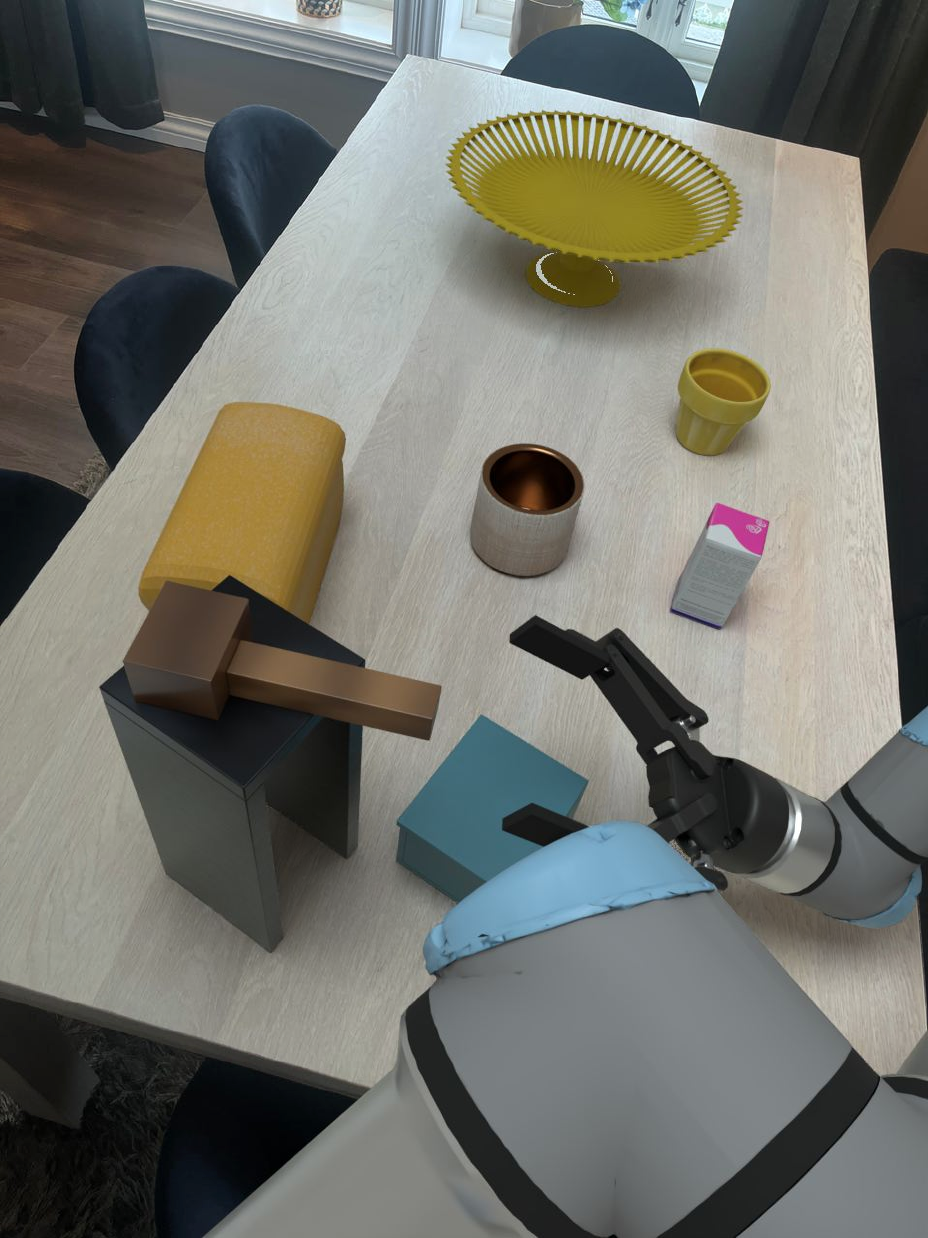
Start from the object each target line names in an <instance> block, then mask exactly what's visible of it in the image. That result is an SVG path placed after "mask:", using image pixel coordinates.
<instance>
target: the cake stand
mask: <svg viewBox="0 0 928 1238" xmlns="http://www.w3.org/2000/svg"><path fill="white" fill-rule="evenodd" d="M555 115H556V116H557V118H558V121H559V127H560V133H561V141H562V150H563V153H562V150H561V147H560V144H559V139H558V133H557V127H556V119H555V118H556V117H555ZM543 116H545V117H546V121H547V124H548V128H549V132H550V137H551V141H552V147H553V150H552V147H551V145H550V143H549V139H548V136H547V132H546V128H545V123H544V117H543ZM568 116H570V124H571V134H572V136H571V137H572V155H571V150H570V145H569V137H568V135H569V134H568V118H567V117H568ZM532 117H533V118H534V120H535V123H536V125H537V128H538V131H539V134H540V137H541V140H542V144H543V147H544V149H543V147H542V146H541V144H540V141H539V138H538V137H537V134H536V130H535V128H534V125H533V121H532ZM580 117H582V119H583V120H582V121H583V122H582V123H583V124H582V125H583V131H582V132H583V133H582V134H583V135H582V136H583V137H582V138H583V140H582V149H581V150H582V151H581V155H580V147H579V126H580ZM495 118H496V119H493V120H491V119H486V122H485V123H479V122H477V123H476V124H477V126H478V127H468V128H469V130H470V131H469V132H464V131H461V134H462V135H463V136H464V137H455V139H456V141H457V142H458V143H457V142H456V143H455V142H454V143H452V142H451V143H450V144H451V146H452V147H453V148H454V149H447V151H448V153H450V154H451V155H449V156H445V158H446V159H447V160H448V161H449V162H448V163H445V166H446V167H448V168H449V170H445V172H446V174H448V175H450V176H451V177H450V178H448V181H450V182H451V183H453V184H454V185H452V186H451V188H452V189H454V190H456V191H457V192H459V193H458V194H457V196H458V197H460V198H462V199H463V200H465V201H464V202H463V203H464V204H465V205H467V206H469V207H471V208H473V209H472V212H475V213H477V214H479V215H481V216H482V217H481V219H483V220H485V221H488V222H491V223H493V224H492V226H494V227H496V228H498V229H502V230H504V233H507V234H510V235H513V236H515V237H517V238H518V239H520V240H523V241H527V242H529V243H531V245H534V246H538V247H543V248H546V249H547V250H551V251H549V252H546V253H542V254H539V255H537V256H535V257H534V258H532V259H530V261H529V262H528V264H527V266H526V269H525V277H526V280H527V283H528V284H529V285H530V287H531V288H532V289H533V290H534V291H535V292H536V293H538V294H539V295H541V296H542V297H544V298H545V299H548V300H550V301H552V302H555V303H558V304H560V305H565V306H569V307H570V306H571V307H577V308H578V307H579V308H592V307H599V306H602V305H604V304H605V305H606V304H607V303H609V302H611V301H613V300H614V299H615V298H616V297H617V296H618V294H619V292H620V289H621V280H620V278H619V275H618V274H617V273H616V271H615V270H614V269H612V267H610V266H609V265H608V264H606V263H605V262H609V263H611V262H612V263H614V262H617V263H622V264H623V263H624V264H629V263H637V264H644V263H659V261H661V262H665V261H666V262H672V261H673V260H685V259H687V258H686V256H689V257H690V256H698V254H697V253H707V252H709V250H708V249H709V248H717V247H718V245H717V244H719V243H724V242H726V239H724V238H727V237H732V236H733V234H731V233H730V232H733V231H737V230H738V228H737V227H735V225H738V224H739V225H740V224H741V223H742V221H740V220H738V218H742V217H744V215H743V214H741V213H739V212H740V211H742V210H744V207H741V206H740V205H739V204H741V203H743V202H744V200H741V199H739V198H738V196H740V195H741V193H740V192H737V191H735V189H737V188H738V185H734V184H732V183H730V182H731V181H733V178H729V177H727V176H725V175H726V174H727V171H724V170H720V169H718V168H719V167H720V164H715V163H713V162H711V160H712V158H711V157H705V156H703V155H702V154H703V151H697V150H695V149H693V147H694V146H693V145H688V144H684V143H683V139H675V138H673V137H672V135H671V134H664V133H661V132H660V129H657V130H655V129H650V128H649V127H648V126H647V125H648V124H647V125H639V124H637V123H636V124H635V121H632V122H628V121H625V120H623V119H622V118H621V117H620V118H612V117H610V116H609V115H606V116H601V115H598V114H596V113H595V112H594V113H593V114H587V113H584V112H583V111H580V112H573V111H570V110H569V109H568V110H567V111H566V112H563V111H558V110H557V109H554V111H546V110H544V109H542V110H541V111H540V112H535V111H532V110H529V112H527V113H525V112H521V111H517V114H509V113H506V116H503V117H501V116H498V115H496V116H495ZM520 118H522V119H523V122H524V124H525V127H526V129H527V131H528V132H529V135H530V138H531V140H532V143H533V145H534V148H535V150H534V148H533V146H532V145H531V142H530V141H529V139H528V137H527V135H526V132H525V130H524V127H523V125H522V123H521V120H520ZM593 118H594V119H595V128H594V136H593V137H594V138H593V143H592V144H593V145H592V150H591V154H590V157H589V148H590V147H589V146H590V135H591V128H592V127H591V126H592V121H593V120H592V119H593ZM510 120H511V121H512V122H513V125H514V126H515V128H516V131H518V134H519V136H520V137H521V139H522V141H523V145H524V146H525V148H526V150H527V151H526V150H525V149H524V147H523V145H522V143H521V142H520V141H519V139H518V137H517V135H516V133H515V131H514V129H513V127H512V125H511V122H510ZM605 121H608V123H607V130H606V135H605V139H604V143H603V147H602V151H601V154H600V157H599V149H600V144H601V143H600V142H601V138H602V133H603V128H604V125H605ZM500 123H501V125H503V127H504V129H505V131H506V132H507V134H508V135H509V137H510V138H511V140H512V142H513V143H514V146H515V147H516V149H517V150H516V149H515V147H514V146H513V145H512V143H511V141H510V140H509V138H508V137H507V135H506V133H505V132H504V130H503V129H502V127H501V125H500ZM618 123H620V127H619V132H618V135H617V138H616V142H615V144H614V147H613V150H612V153H611V155H610V158H609V159H608V155H609V151H610V147H611V143H612V140H613V137H614V133H615V131H616V127H617V125H618ZM491 127H493V128H494V130H495V131H496V133H497V134H498V135H499V137H500V138H501V140H502V142H503V143H504V144H505V146H506V147H507V149H508V150H507V149H506V148H505V147H504V145H503V144H502V143H501V142H500V140H499V139H498V137H497V136H496V135H495V133H494V131H493V130H492V128H491ZM630 127H632V131H631V133H630V137H629V139H628V141H627V144H626V146H625V148H624V150H623V152H622V155H620V156H621V157H620V159H619V160H618V162H617V159H618V156H619V153H620V150H621V147H622V145H623V142H624V140H625V137H626V135H627V133H628V131H629V129H630ZM483 131H484V132H485V133H486V135H487V136H489V138H490V139H491V140H492V142H493V143H494V144H495V146H496V147H497V148H498V149H499V151H500V152H499V151H498V150H497V148H495V147H494V146H493V144H492V143H491V142H490V140H489V139H488V137H486V135H485V134H484V132H483ZM642 131H645V132H644V133H643V135H642V138H641V140H640V142H639V144H638V146H637V148H636V149H635V152H634V153H633V155H632V157H631V158H630V160H629V161H628V160H627V159H628V157H629V155H630V154H631V151H632V149H633V147H634V145H635V143H636V141H637V139H638V137H639V136H640V134H641V133H642ZM476 135H477V136H478V137H479V138H480V139H481V140H482V142H483V144H485V145H486V147H488V148H489V150H490V151H491V152H492V153H490V151H488V150H487V149H486V147H484V146H483V144H482V143H481V142H480V141H479V139H478V138H477V137H476ZM654 135H656V137H655V138H654V141H653V142H652V144H651V146H649V149H648V150H647V152H646V153H645V155H644V156H643V157H642V159H641V160H640V162H639V163H638V164H637V166H635V164H636V163H637V161H638V160H639V157H640V156H641V154H642V152H643V151H644V149H645V148H646V146H647V145H648V143H649V141H650V140H651V139H652V137H653V136H654ZM666 139H667V140H668V141H667V142H666V143H665V145H664V146H663V148H662V149H661V151H660V152H659V153H658V154H657V156H656V157H655V158H654V159H653V161H651V163H650V164H649V165H648V166H647V167H646V168H645V166H646V165H647V163H648V161H649V160H650V159H651V158H652V156H653V155H654V153H655V152H656V151H657V150H658V148H659V147H660V146H661V145H662V143H664V141H665V140H666ZM470 141H471V142H473V144H474V145H475V146H476V147H477V148H478V149H479V150H480V151H481V152H482V153H483V154H484V155H485V156H486V157H485V156H484V155H482V154H481V152H479V151H478V150H477V149H476V147H475V146H474V145H473V144H472V143H471V142H470ZM676 145H678V146H677V147H676V149H675V150H674V151H673V153H672V154H671V155H670V156H669V157H668V158H667V159H666V161H664V163H663V164H662V165H661V166H660V167H658V168H657V169H656V170H655V171H654V172H652V171H653V170H654V169H655V168H656V166H657V165H658V164H659V163H660V162H661V161H662V160H663V158H664V157H665V156H667V154H668V153H669V152H670V151H671V150H672V149H673V148H674V147H675V146H676ZM466 147H467V148H468V149H469V150H470V151H472V152H473V153H474V155H476V156H477V157H478V158H479V159H480V160H478V159H477V158H476V157H475V156H474V155H473V154H472V153H471V152H469V151H468V149H467V148H466ZM508 151H509V152H508ZM685 151H688V152H687V153H686V154H685V155H684V156H683V157H682V158H681V159H680V160H679V161H678V162H677V163H676V164H675V165H674V166H673V167H672V168H671V169H670V170H668V171H666V173H664V174H662V173H663V172H664V171H665V170H666V169H667V168H668V167H669V166H670V165H671V164H672V163H673V162H675V160H677V158H679V157H680V156H681V155H682V154H683V153H684V152H685ZM510 153H511V154H510ZM463 154H464V155H465V156H466V157H468V158H469V159H470V160H471V161H472V162H473V163H474V164H473V163H472V162H471V161H470V160H469V159H467V158H466V157H465V156H464V155H463ZM492 154H493V155H494V156H493V155H492ZM580 156H581V157H580ZM695 156H696V157H697V158H696V159H695V160H693V161H692V162H691V163H690V164H689V165H688V166H686V167H685V168H684V169H683V170H682V171H681V172H679V173H678V174H677V175H675V176H673V175H674V174H675V173H676V172H677V171H678V170H679V169H680V168H681V167H683V166H684V165H685V164H687V163H688V162H689V161H690V160H692V159H693V158H695ZM598 157H599V158H598ZM487 158H488V159H487ZM598 159H599V160H598ZM461 160H462V161H463V162H464V163H465V164H467V165H468V166H469V167H471V168H472V169H473V170H474V171H473V170H472V169H470V168H469V167H468V166H467V165H465V164H464V163H463V162H461ZM481 161H482V162H481ZM626 161H628V163H627V162H626ZM616 162H617V164H616ZM626 163H627V164H626ZM703 163H705V164H704V165H703V166H702V167H701V168H700V169H698V170H697V171H695V172H694V173H693V174H691V175H690V176H688V177H687V178H685V179H683V180H681V179H682V178H683V177H685V176H686V175H688V174H689V173H690V172H691V171H693V170H694V169H696V168H697V167H699V166H700V165H701V164H703ZM475 164H476V165H475ZM634 166H635V168H634ZM461 168H462V169H463V170H462V169H461ZM644 168H645V169H644ZM643 169H644V170H643ZM464 170H465V171H464ZM710 170H712V171H711V172H709V173H708V174H706V175H705V176H704V177H702V178H700V179H698V180H697V181H695V182H694V183H692V184H689V183H690V182H692V181H694V180H695V179H696V178H698V177H700V176H702V174H704V173H706V172H708V171H710ZM468 173H469V174H468ZM659 176H660V177H659ZM671 176H673V177H672V178H670V177H671ZM717 176H718V178H716V177H717ZM464 177H465V178H464ZM669 178H670V179H669ZM714 178H716V179H715V180H714V181H712V182H709V183H708V184H707V185H705V186H703V187H701V188H699V189H697V190H694V191H692V190H693V189H695V188H697V187H699V186H701V185H702V184H704V183H706V182H708V181H710V180H712V179H714ZM679 180H681V181H680V182H678V181H679ZM677 182H678V183H677ZM687 184H689V185H687ZM720 184H723V185H721V186H718V185H720ZM686 185H687V186H686ZM716 186H718V187H717V188H715V189H714V190H711V191H708V190H710V189H712V188H714V187H716ZM683 187H684V188H683ZM690 191H691V192H690ZM705 191H708V192H707V193H705V194H702V193H704V192H705ZM724 191H726V192H725V193H723V194H721V195H719V196H716V197H714V198H711V199H709V200H706V201H704V200H705V199H707V198H710V197H712V196H714V195H717V194H719V193H722V192H724ZM700 194H702V195H700ZM697 195H700V196H697ZM727 198H729V199H727ZM724 199H726V200H725V201H722V202H719V203H716V202H718V201H721V200H724ZM713 203H716V204H714V205H711V206H708V205H710V204H713ZM728 205H729V206H728ZM706 206H707V207H706ZM725 206H728V207H725ZM722 207H725V208H723V209H720V210H716V211H713V210H715V209H719V208H722ZM710 211H713V212H710ZM707 212H708V213H707ZM724 213H727V214H724ZM720 214H723V215H720ZM717 215H720V216H717ZM713 216H717V217H713ZM710 217H712V218H710ZM721 220H724V221H721ZM716 221H721V222H716ZM713 222H715V223H713ZM708 223H710V224H708ZM715 227H716V228H715ZM710 228H711V229H710ZM710 233H712V234H710ZM554 252H557V253H554ZM550 253H554V254H551V255H549V256H547V257H546V258H544V260H543V261H542V263H541V264H540V265H541V270H542V274H544V277H545V278H546V279H547V281H548V283H551V285H553V286H556V287H557V289H560V290H562V291H565V292H566V293H564V292H561V291H558V290H556V289H553V288H551V287H550V286H548V285H547V284H545V283H544V282H543V281H542V280H541V279H540V278H539V276H538V275H537V272H536V264H537V262H538V261H539V259H541V258H542V257H543V256H545V255H547V254H550ZM598 260H599V261H598ZM604 261H605V262H604ZM605 265H606V266H607V267H608V268H607V267H606V266H605ZM609 270H610V271H611V273H612V274H611V273H610V271H609ZM612 276H613V282H612ZM568 293H570V294H568ZM573 294H575V295H573Z"/></svg>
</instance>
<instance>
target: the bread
mask: <svg viewBox="0 0 928 1238" xmlns="http://www.w3.org/2000/svg"><path fill="white" fill-rule="evenodd" d="M346 442H347V437H346V433H345V431H344V430H343V428H342V427H341V425H340V424H339V423H338V422H336V421H334V420H333V419H331V418H328V417H327V416H323V415H321V414H317V413H314V412H311V411H306V410H302V409H299V408H296V407H292V406H287V405H282V404H278V403H268V402H253V401H251V402H250V401H232V402H229V403H227V404H224V405H223V406H222V407H221V409H219V411H218V412H217V415H216V417H215V419H214V421H213V423H212V425H211V427H210V430H209V431H208V433H207V436H206V438H205V439H204V442H203V444H202V446H201V448H200V450H199V452H198V455H197V456H196V458H195V461H194V463H193V465H192V467H191V470H190V471H189V474H188V475H187V477H186V480H185V482H184V484H183V486H182V488H181V490H180V492H179V495H178V497H177V498H176V502H174V505H173V507H172V510H171V511H170V514H169V516H168V518H167V520H166V522H165V524H164V526H163V528H162V531H161V532H160V535H159V537H158V538H157V540H156V542H155V545H154V547H153V549H152V551H151V553H150V555H149V558H148V559H147V562H146V563H145V566H144V569H143V570H142V573H141V577H140V580H139V584H138V597H139V600H140V602H141V604H142V605H143V606H144V608H146V610H147V611H148V613H149V611H150V609H151V608H152V606H153V604H154V602H155V600H156V598H157V596H158V595H159V593H160V591H161V589H162V587H163V585H164V584H165V582H166V581H171V582H175V583H180V584H184V585H189V586H193V587H197V588H202V589H206V590H212V589H213V588H215V587H216V586H217V585H218V584H219V583H220V582H222V581H223V580H224V579H225V578H226V577H227V576H229V575H231V576H232V577H234V578H236V579H237V580H239V581H240V582H242V583H244V584H245V585H247V586H248V587H250V588H252V589H253V590H255V591H256V592H258V593H260V594H261V595H263V596H264V597H266V598H268V599H269V600H271V601H272V602H274V603H276V604H277V605H279V606H280V607H282V608H284V609H285V610H287V611H288V612H290V613H292V614H293V615H295V616H296V617H298V618H300V619H301V620H303V621H304V622H306V623H308V624H309V625H310V622H311V620H312V616H313V613H314V609H315V606H316V603H317V599H318V596H319V593H320V590H321V586H322V584H323V581H324V577H325V574H326V571H327V567H328V564H329V561H330V557H331V554H332V551H333V547H334V544H335V541H336V538H337V535H338V531H339V528H340V523H341V518H342V517H341V516H342V513H343V512H342V511H343V505H344V493H345V475H344V462H343V457H344V454H345V451H346ZM148 613H147V614H148Z"/></svg>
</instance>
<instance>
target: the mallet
mask: <svg viewBox="0 0 928 1238" xmlns="http://www.w3.org/2000/svg"><path fill="white" fill-rule="evenodd" d="M148 612H149V613H147V615H146V617H145V619H144V620H143V622H142V624H141V626H140V628H139V629H138V632H137V633H136V635H135V637H134V639H133V641H132V643H131V645H130V647H129V648H128V650H127V652H126V654H125V655H124V658H123V659H122V664H123V666H124V667H125V670H126V674H127V677H128V680H129V683H130V687H131V690H132V693H133V696H134V699H135V701H137V702H141V703H146V704H150V705H154V706H159V707H163V708H167V709H172V710H176V711H180V712H184V713H189V714H193V715H197V716H202V717H206V718H210V719H215V720H219V718H220V716H221V713H222V711H223V709H224V706H225V704H226V702H227V700H228V697H229V695H232V696H236V697H241V698H245V699H249V700H254V701H258V702H262V703H267V704H271V705H275V706H280V707H284V708H288V709H293V710H297V711H301V712H306V713H310V714H314V715H319V716H323V717H327V718H332V719H336V720H340V721H345V722H349V723H353V724H358V725H362V726H363V727H366V728H371V729H376V730H380V731H384V732H388V733H393V734H397V735H401V736H406V737H410V738H414V739H419V740H423V741H427V742H430V741H431V739H432V733H433V729H434V726H435V722H436V719H437V715H438V710H439V706H440V700H441V695H442V685H440V684H436V683H432V682H427V681H423V680H418V679H414V678H410V677H405V676H401V675H397V674H392V673H388V672H383V671H379V670H375V669H371V668H367V667H365V668H362V667H358V666H353V665H349V664H345V663H340V662H336V661H331V660H327V659H323V658H318V657H314V656H310V655H305V654H301V653H296V652H292V651H288V650H283V649H279V648H275V647H270V646H266V645H261V644H257V643H253V632H252V623H251V615H250V606H249V599H246V598H242V597H237V596H233V595H228V594H224V593H219V592H215V591H211V590H206V589H202V588H197V587H193V586H189V585H184V584H180V583H175V582H171V581H166V582H165V584H164V585H163V587H162V589H161V591H160V593H159V595H158V596H157V598H156V600H155V602H154V604H153V606H152V608H151V609H150V611H149V610H148Z"/></svg>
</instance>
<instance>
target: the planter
mask: <svg viewBox="0 0 928 1238" xmlns="http://www.w3.org/2000/svg"><path fill="white" fill-rule="evenodd" d="M584 492H585V479H584V476H583V474H582V471H581V470H580V468H579V467H578V466H577V464H576V463H575V462H574V461H573V460H572V459H570V457H568V456H567V455H565V454H564V453H562V452H561V451H558V450H557V449H554V448H552V447H550V446H549V447H548V446H546V445H541V444H536V443H530V442H529V443H526V442H523V443H522V442H521V443H512V444H507V445H504V446H502V447H499V448H498V449H496V450H494V451H493V452H491V453H490V454H489V455H488V456H487V457H486V458H485V460H484V461H483V463H482V466H481V469H480V474H479V479H478V485H477V490H476V495H475V502H474V505H473V506H474V507H473V512H472V517H471V522H470V527H469V528H470V530H469V532H470V533H469V535H470V542H471V545H472V547H473V550H474V551H475V553H476V554H477V556H478V557H479V558H480V559H481V560H482V561H483V562H485V564H487V565H489V566H490V567H491V568H494V569H495V570H497V571H499V572H501V573H506V574H508V575H513V576H519V577H531V576H539V575H542V574H545V573H548V572H550V571H553V569H555V568H557V567H558V566H559V565H560V564H561V563H562V562H563V560H564V559H565V557H566V555H567V553H568V552H569V548H570V545H571V541H572V537H573V533H574V529H575V525H576V522H577V518H578V513H579V510H580V507H581V503H582V500H583V496H584V494H585V493H584Z"/></svg>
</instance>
